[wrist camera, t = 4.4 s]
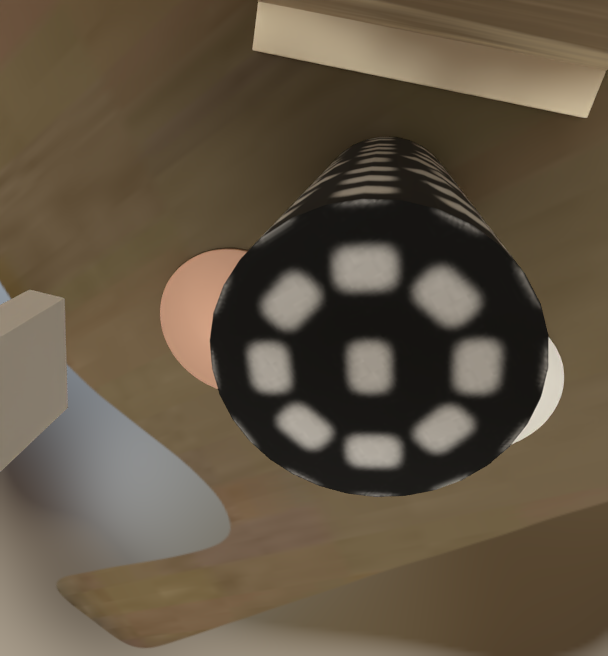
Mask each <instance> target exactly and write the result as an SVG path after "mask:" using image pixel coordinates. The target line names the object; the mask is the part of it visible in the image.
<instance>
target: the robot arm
mask: <svg viewBox="0 0 608 656" xmlns="http://www.w3.org/2000/svg"><path fill="white" fill-rule="evenodd" d="M67 408H68V403H67V367H66V332H65V298H62V297H58V296H53V295H49V294H45V293H41V292H37V291H33V290H28V291H26V292H24V293H22V294H20V295H18V296H17V297H15V298H13V299H11V300H9V301H7V302H5V303H3V304H1V305H0V471H2V470H3V469H4V468H5V467H6V466H7V465H8V464H9V463H10V462H11V461H12V460H13V459H14V458H15V457H16V456H17V455H18V454H20V452H22V451H23V450H24V449H25V448H26V447H27V446H28V445H29V444H30V443H31V442H32V441H33V440H34V439H35V438H36V437H37V436H38V435H39V434H41V433H42V432H43V431H44V430H45V429H46V428H47V427H48V426H49V425H50V424H51V423H52V422H53V421H54V420H55V419H56V418H57V417H58V416H59V415H61V414H62V413H63V412H64V411H65V410H66V409H67Z"/></svg>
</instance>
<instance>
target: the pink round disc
mask: <svg viewBox="0 0 608 656" xmlns="http://www.w3.org/2000/svg"><path fill="white" fill-rule="evenodd" d="M246 252H247V250H242V249H233V248H223V249H215V250H211V251H206V252H204V253H201V254H199V255H196V256H195V257H193V258H191V259H190V260H188V261H187V262H186V263H184V264H183V265H182V266H181V267H179V268H178V269H177V271H176V272H175V273H174V274H173V275H172V277H171V278H170V280H169V281H168V283H167V285H166V287H165V289H164V292H163V296H162V299H161V306H160V319H161V327H162V330H163V334H164V337H165V339H166V342H167V344H168V346H169V348H170V350H171V351H172V353H173V355H174V356H175V357H176V359H177V360H178V361H179V362H180V364H181V365H182V366H183V367H184V368H185V369H186V370H187V371H188V372H190V373H191V374H192V375H193V376H195V377H196V378H197V379H199V380H200V381H202V382H204V383H206V384H208V385H210V386H212V387H214V388H217V389H218V387H217V384H216V380H215V377H214V373H213V370H212V362H211V350H210V335H211V327H212V320H213V312H214V310H215V307H216V304H217V302H218V299H219V296H220V293H221V291H222V288H223V285H224V284H225V282H226V280H227V279H228V277H229V276H230V274H231V273H232V271H233V269H234V268H235V266H236V265H237V263H238V262H239V260H240V259H241V258H242V257H243V256H244V255H245V254H246Z"/></svg>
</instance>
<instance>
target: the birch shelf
mask: <svg viewBox="0 0 608 656" xmlns="http://www.w3.org/2000/svg"><path fill="white" fill-rule="evenodd" d="M257 1H258V8H257V16H256V25H255V33H254V41H253V49H252V50H254V51H257V52H262V53H267V54H272V55H277V56H282V57H287V58H292V59H296V60H301V61H306V62H311V63H316V64H321V65H326V66H331V67H336V68H340V69H345V70H350V71H355V72H360V73H365V74H370V75H375V76H380V77H385V78H389V79H394V80H399V81H404V82H409V83H414V84H419V85H424V86H429V87H434V88H438V89H443V90H448V91H453V92H458V93H463V94H468V95H473V96H478V97H482V98H487V99H492V100H497V101H502V102H507V103H512V104H517V105H522V106H527V107H531V108H536V109H541V110H546V111H551V112H556V113H561V114H566V115H571V116H576V117H580V118H587V117H588V114H589V112H590V109H591V107H592V104H593V102H594V99H595V97H596V94H597V92H598V89H599V87H600V84H601V82H602V79H603V77H604V74H605V72H606V70H608V0H257Z"/></svg>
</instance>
